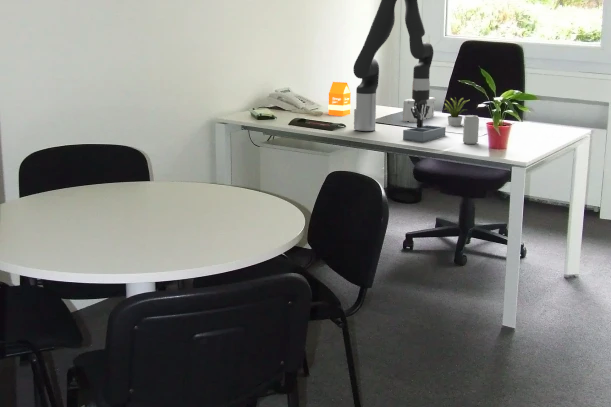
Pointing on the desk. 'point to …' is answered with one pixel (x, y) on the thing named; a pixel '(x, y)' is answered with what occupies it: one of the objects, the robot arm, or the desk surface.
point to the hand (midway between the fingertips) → (419, 127)
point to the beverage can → (470, 129)
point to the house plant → (455, 112)
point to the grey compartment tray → (423, 133)
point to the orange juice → (339, 99)
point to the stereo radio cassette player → (410, 104)
